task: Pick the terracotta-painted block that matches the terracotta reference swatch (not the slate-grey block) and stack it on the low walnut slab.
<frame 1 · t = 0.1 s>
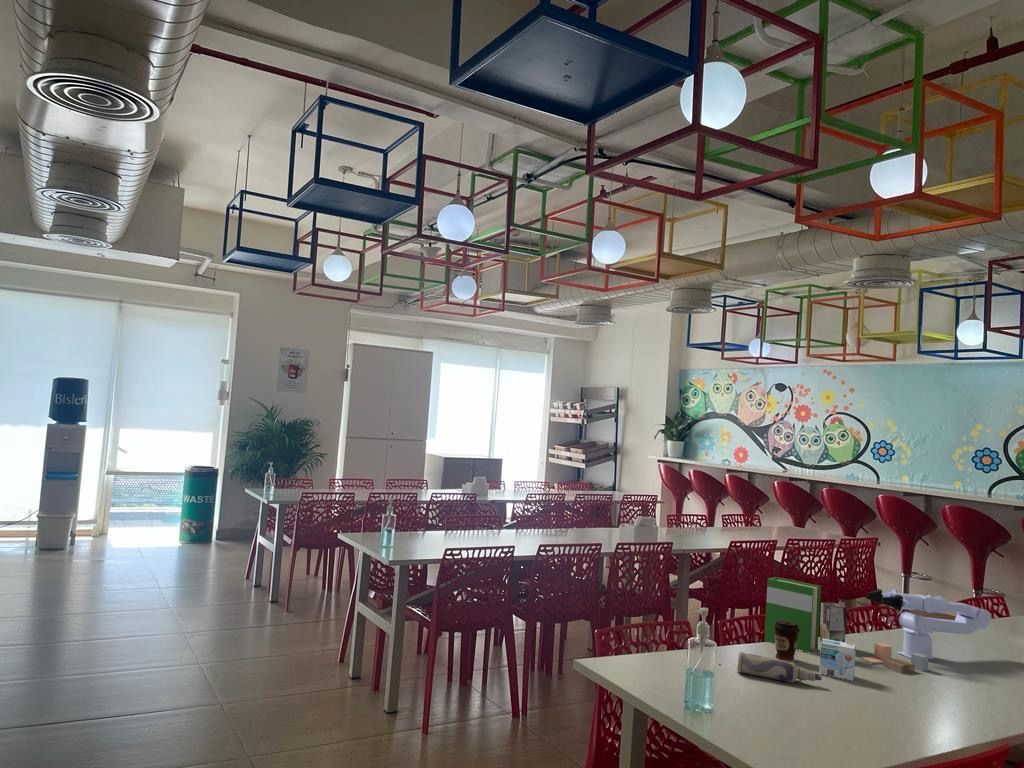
hand: (874, 598, 273), 22 cm above the table, tool horizontal, fingers open, 7 cm apart
light bulb box: (836, 676, 245), on the table
hardback book: (790, 646, 279), on the table
reference swatch: (872, 661, 266), on the table
coffee cup: (784, 659, 260), on the table
coffee box: (831, 647, 281), on the table
terracotta block: (882, 658, 271), on the table
walnut slab: (898, 670, 258), on the table
decorative bottle: (775, 680, 236), on the table
slate block: (919, 669, 260), on the table
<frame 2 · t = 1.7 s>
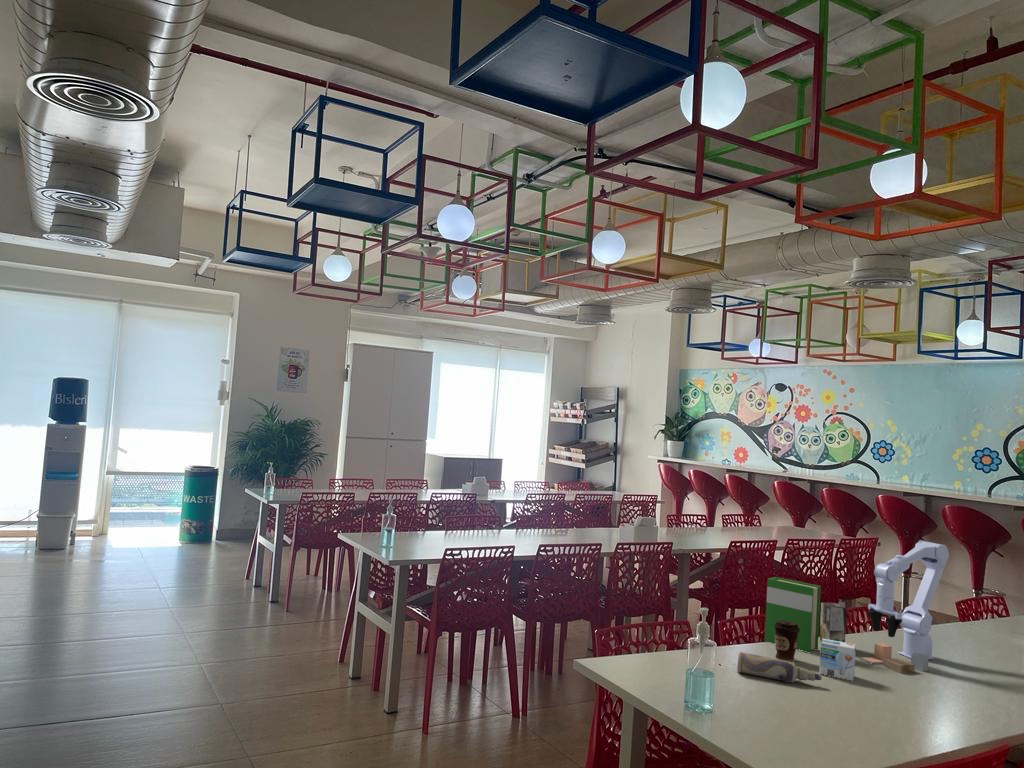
hand: (883, 633, 271), 9 cm above the table, tool pointing down, fingers open, 7 cm apart
nothing on the table moved.
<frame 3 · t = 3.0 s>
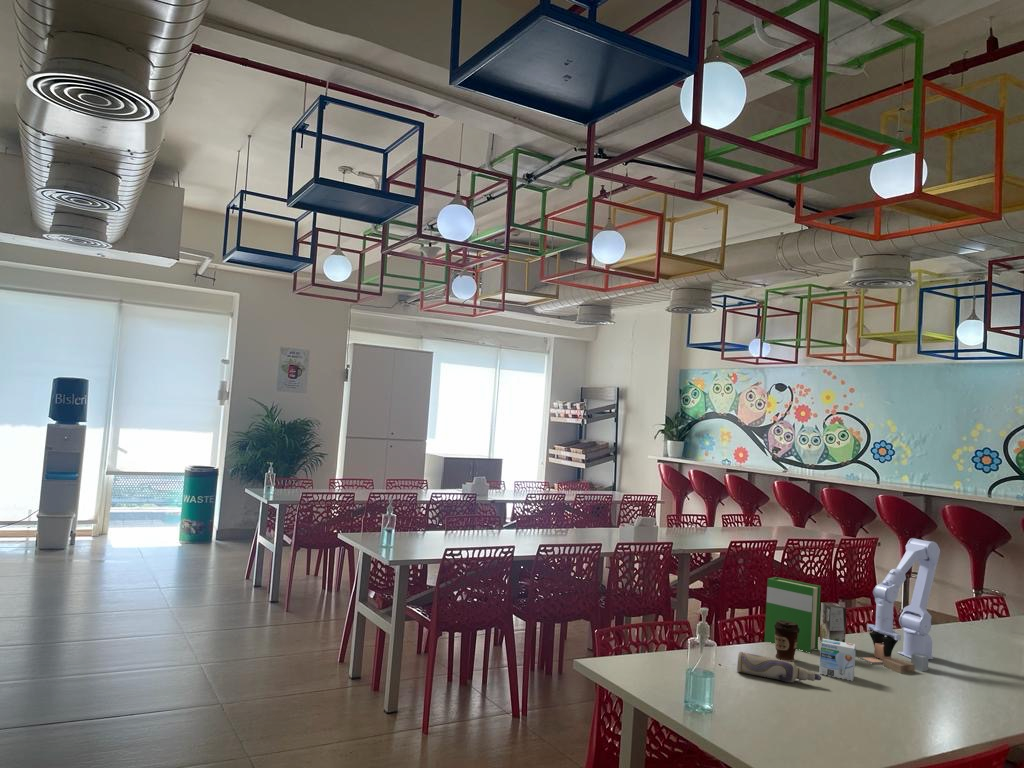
hand: (882, 654, 271), 1 cm above the table, tool pointing down, fingers closed on terracotta block, 4 cm apart
terracotta block: (882, 658, 271), on the table, touching gripper
everything else where it was.
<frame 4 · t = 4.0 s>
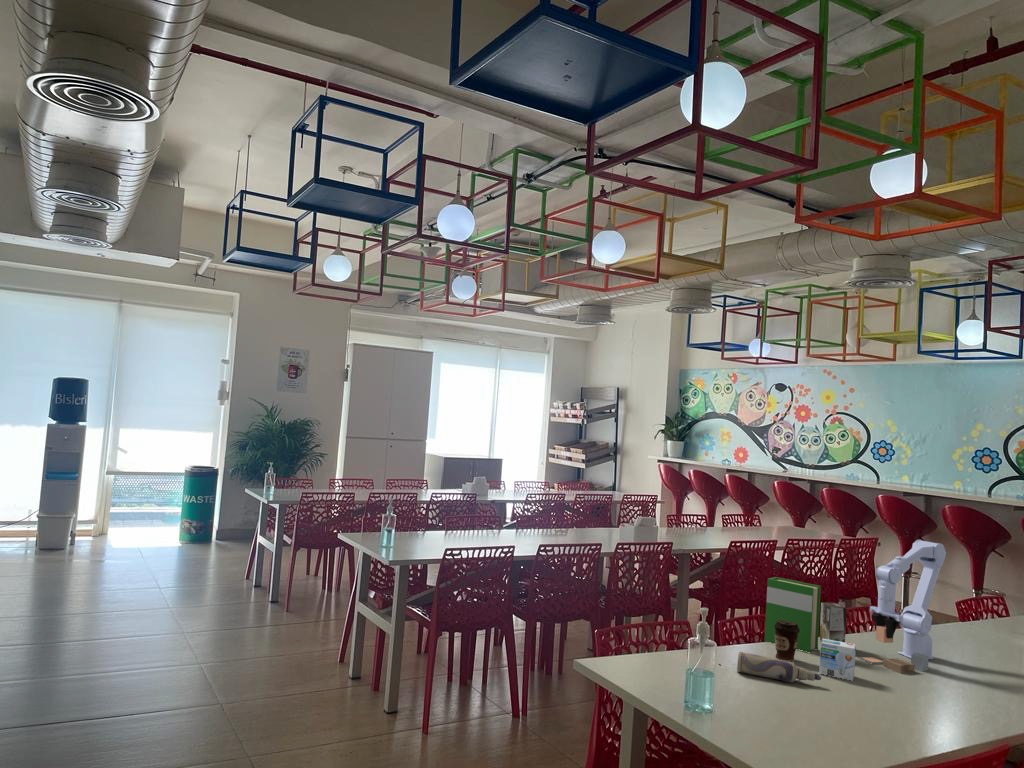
hand: (885, 636, 270), 8 cm above the table, tool pointing down, fingers closed on terracotta block, 4 cm apart
terracotta block: (884, 641, 270), point 7 cm above the table, touching gripper
everything else where it was.
when the fingers open (6 cm above the table, at t = 5.4 s): terracotta block drops 1 cm, resting on walnut slab.
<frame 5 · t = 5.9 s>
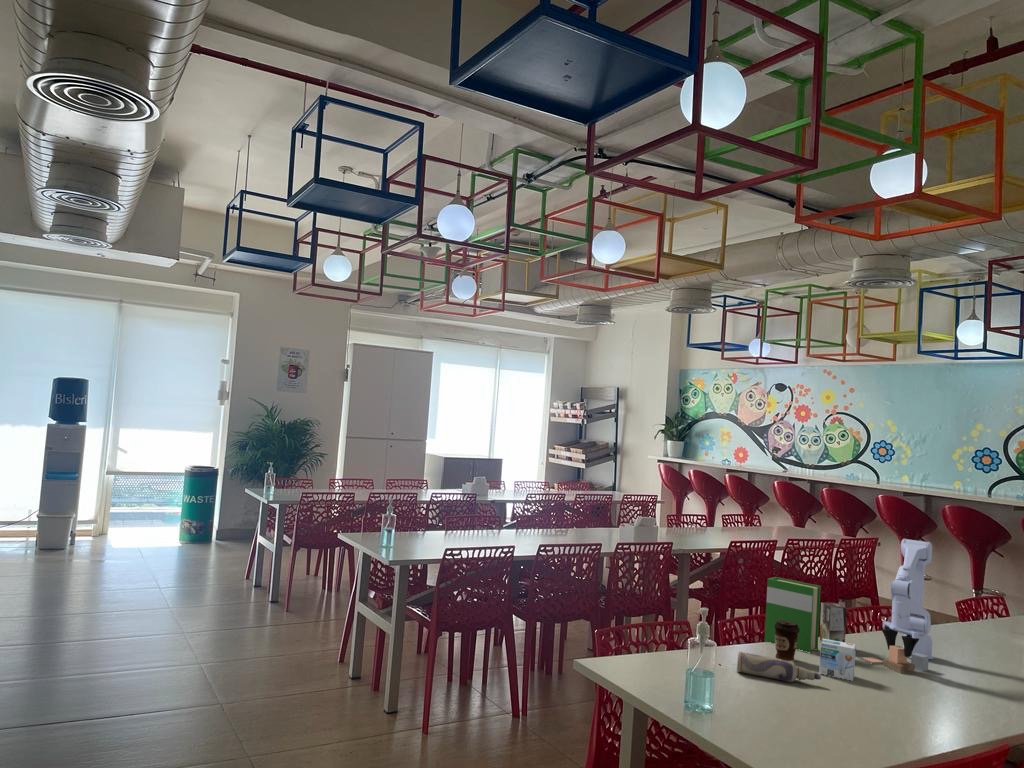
hand: (899, 653, 258), 6 cm above the table, tool pointing down, fingers open, 7 cm apart
terracotta block: (897, 661, 258), point 3 cm above the table, touching walnut slab
walnut slab: (898, 670, 258), on the table, touching terracotta block
everything else where it was.
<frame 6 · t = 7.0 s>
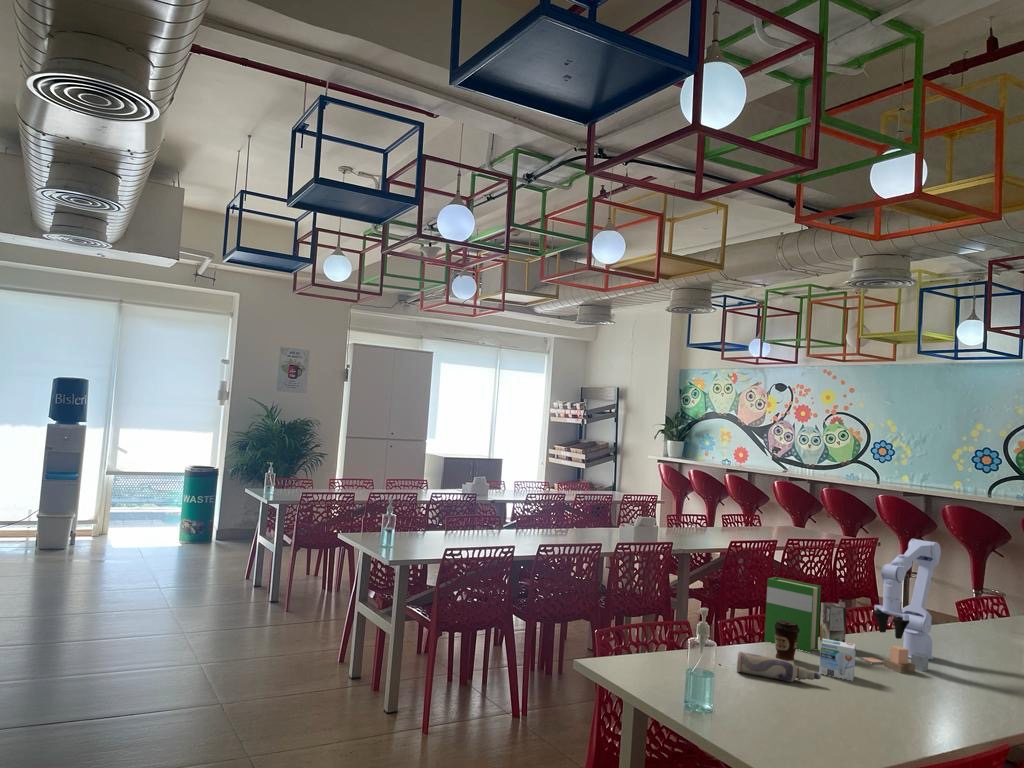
hand: (890, 635, 266), 10 cm above the table, tool pointing down, fingers open, 7 cm apart
terracotta block: (898, 662, 258), point 3 cm above the table
walnut slab: (898, 670, 258), on the table
everything else where it was.
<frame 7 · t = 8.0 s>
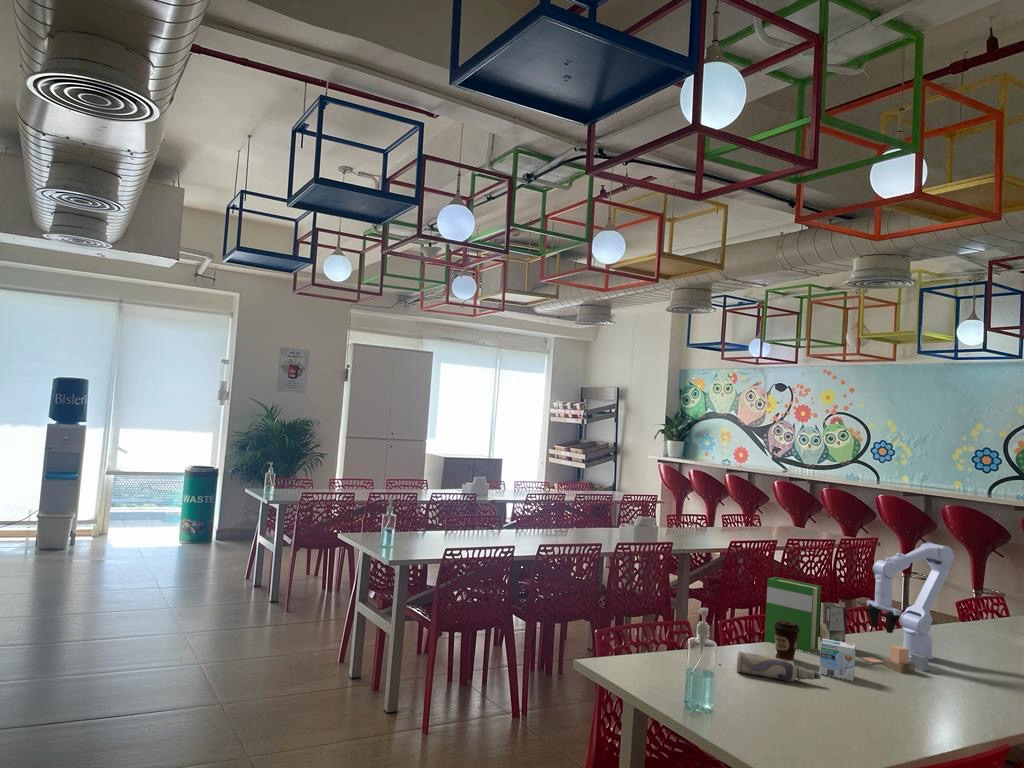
hand: (882, 629, 273), 10 cm above the table, tool pointing down, fingers open, 7 cm apart
nothing on the table moved.
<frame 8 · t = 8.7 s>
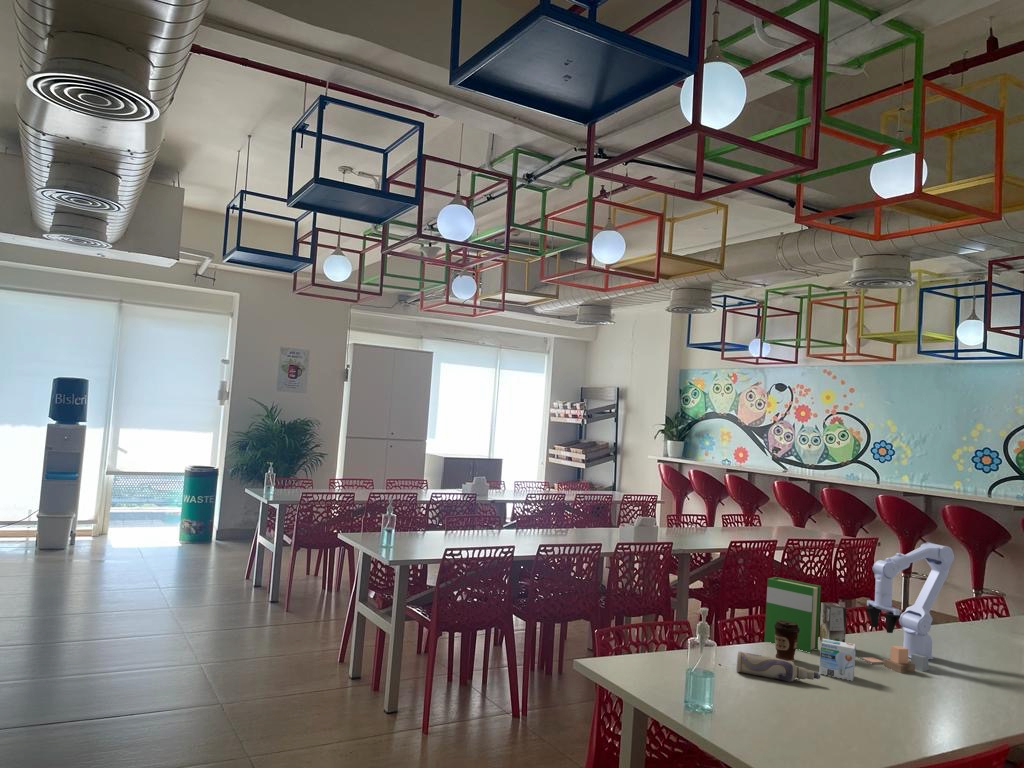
hand: (882, 629, 273), 10 cm above the table, tool pointing down, fingers open, 7 cm apart
terracotta block: (899, 661, 258), point 3 cm above the table, touching walnut slab
walnut slab: (899, 670, 258), on the table, touching terracotta block
everything else where it was.
at the end: terracotta block 0.3 cm off-centre on the walnut slab, point 3.0 cm above the walnut slab's base; terracotta block tilted 0°; slate block moved 0.1 cm from its start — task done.
